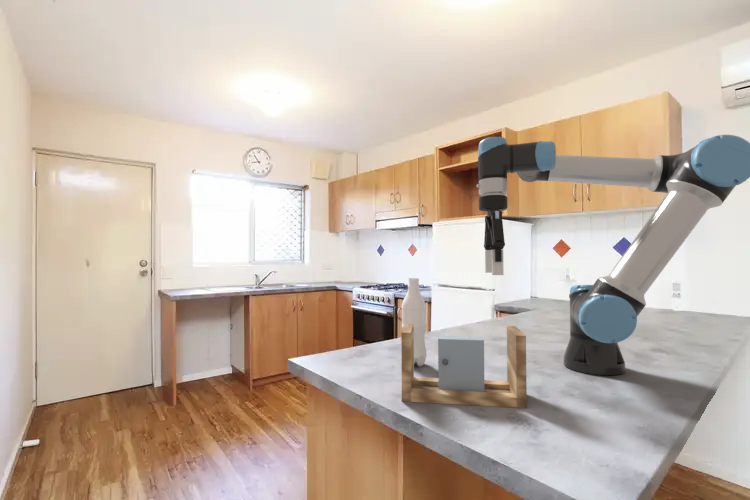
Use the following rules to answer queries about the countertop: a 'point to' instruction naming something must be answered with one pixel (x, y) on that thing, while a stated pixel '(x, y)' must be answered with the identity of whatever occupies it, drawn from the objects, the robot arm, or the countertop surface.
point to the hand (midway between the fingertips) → (493, 273)
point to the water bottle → (415, 318)
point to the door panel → (461, 363)
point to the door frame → (493, 395)
